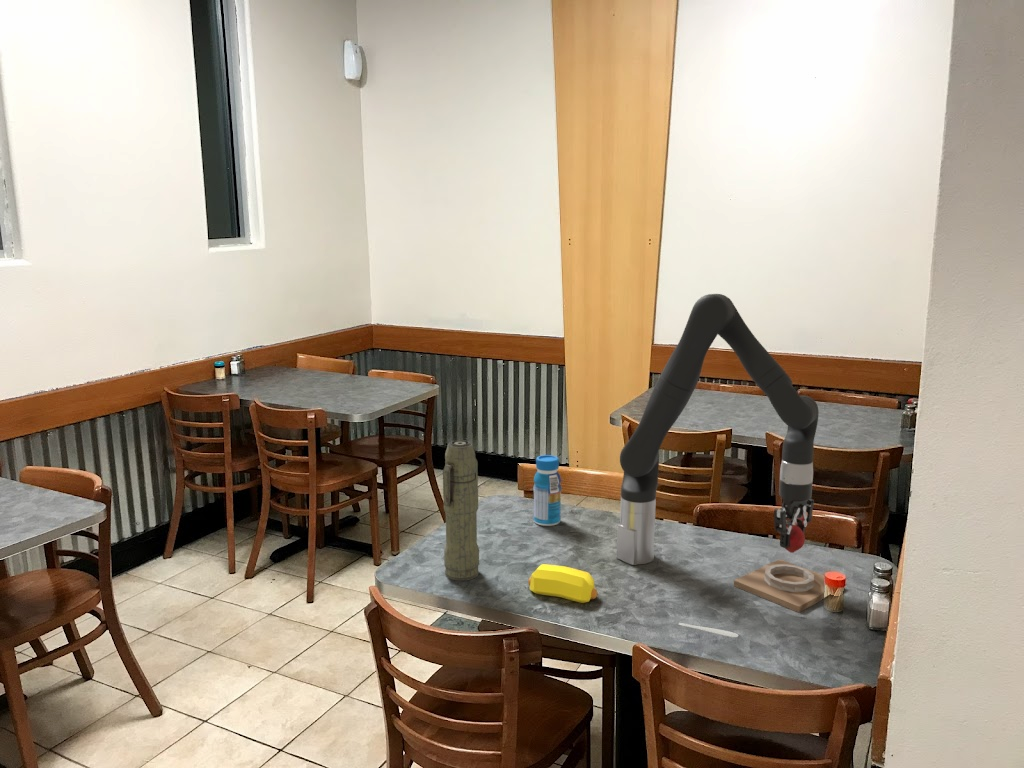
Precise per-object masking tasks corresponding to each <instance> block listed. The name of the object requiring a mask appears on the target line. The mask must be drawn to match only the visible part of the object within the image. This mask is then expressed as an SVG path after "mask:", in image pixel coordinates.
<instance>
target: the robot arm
mask: <svg viewBox="0 0 1024 768" xmlns="http://www.w3.org/2000/svg"><path fill="white" fill-rule="evenodd" d="M717 336H720V337H721V339H723V340H724V341H725V342H726V343H727V344H728V345H729V347H730V348H731V349H732V351H733V352H734V354H735V355H736V356H737V358H738V359H739V361H740V363H741V365H742V366H743V368H744V370H745V371H746V373H747V374H748V376H749V377H750V378H751V379H752V381H753V382H754V383H755V385H757V386H758V388H759V389H760V390H761V391H762V392H763V393H764V395H765V396H766V397H767V398H768V400H769V402H770V404H771V405H772V407H773V409H774V410H775V412H776V413H777V416H778V417H779V418H780V419H781V421H782V422H783V423H784V424H786V426H787V431H786V435H785V438H784V440H783V443H782V452H781V454H782V455H781V462H780V463H781V464H780V469H779V486H778V487H779V488H778V495H779V497H780V498H781V499H782V504H781V507H780V508H774V509H773V510H774V511H773V517H774V519H773V522H774V523H773V524H774V531H775V532H778V533H779V535H780V536H779V546H780V547H781V548H784V549H785V548H789V546H790V531H791V528H792V526H794V525H795V522H796V523H797V524H796V525H797V526H798V527H799V528H800V529H801V530H802V531H803V533H804V536H805V531H806V528H807V526H808V523H811V522H812V519H813V518H812V517H813V509H814V502H815V499H813V498H812V495H813V479H814V443H815V437H816V433H817V427H818V423H819V414H820V413H819V406H818V404H817V402H816V401H815V399H813V398H812V397H811V396H809V395H799V392H797V390H796V389H795V388H794V387H793V380H792V379H791V377H790V375H789V374H788V373H787V372H786V370H784V368H783V367H782V366H781V365H780V364H779V362H778V361H777V360H775V358H774V356H772V355H771V354H770V352H768V350H767V349H766V348H765V347H764V346H763V345H762V344H761V342H760V341H759V340H758V339H757V338H756V336H755V334H753V332H752V331H751V330H750V328H749V327H748V325H747V324H746V323H745V321H744V319H743V317H742V316H741V314H740V313H739V311H738V309H737V308H736V306H735V304H734V302H733V301H732V300H731V299H730V298H729V297H728V296H726V295H725V294H723V293H722V294H721V293H709V294H705V295H703V296H701V297H700V298H699V299H697V300H696V301H695V303H694V305H693V307H692V309H691V312H690V313H689V317H688V320H687V322H686V325H685V327H684V329H683V332H682V335H681V337H680V339H679V341H678V343H677V344H676V346H675V347H674V349H673V351H672V353H671V354H670V356H669V359H668V360H667V362H666V364H665V366H664V368H663V370H661V371H662V372H661V373H660V375H659V377H658V379H657V380H656V382H655V385H654V386H653V389H652V391H651V394H650V396H649V398H648V401H647V403H646V406H645V408H644V411H643V413H642V417H641V418H640V421H639V424H638V425H637V427H636V428H635V430H634V431H633V433H632V435H631V436H630V437H629V439H628V441H627V442H626V443H625V445H624V446H623V447H622V449H621V451H620V454H619V463H620V466H621V467H620V468H621V469H622V471H623V478H622V483H621V487H620V516H619V518H620V519H619V524H617V527H616V529H617V530H616V531H617V532H616V559H618V560H620V561H622V562H625V563H627V564H629V565H632V566H635V565H645V564H649V563H651V562H653V561H654V558H655V557H654V556H655V555H654V554H655V553H654V552H655V527H656V526H655V525H656V506H657V505H656V502H657V501H656V499H657V489H658V484H659V483H658V482H659V470H660V469H659V466H660V448H661V446H662V444H663V443H664V440H665V438H666V435H667V434H668V433H669V431H670V430H671V428H672V427H673V425H674V424H675V423H676V421H677V419H679V417H680V415H681V414H682V412H683V411H684V410H685V408H686V406H687V404H688V402H689V401H690V399H691V397H692V395H693V394H694V392H695V391H694V390H695V389H696V387H697V385H698V382H699V380H700V377H701V373H702V369H703V364H704V361H705V358H706V355H707V353H708V351H709V349H710V347H711V346H712V344H713V342H715V339H716V338H717ZM786 527H787V529H786Z"/></svg>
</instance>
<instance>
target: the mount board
mask: <svg viewBox="0 0 1024 768" xmlns="http://www.w3.org/2000/svg"><path fill="white" fill-rule="evenodd" d="M824 575H825V574H821V573H819V572H817V571H813V570H811V569H807V568H805V567H802V566H799V565H797V564H794V563H792V562H788V561H787V560H786V561H785V560H783V559H780V558H779V559H777V560H775V561H773V562H771V563H769V564H766V565H764V566H761V568H758V569H755V570H754V571H751V572H749V573H747V574H744V575H743V576H741V577H738V578H736V579H734V580H733V587H736V588H738V589H739V590H740V589H741V590H743V591H745V592H747V593H750V594H752V595H755V596H756V597H760V598H762V599H764V600H768V601H769V602H771V603H772V602H773V603H774V604H777V605H779V606H781V607H784V608H786V609H788V610H791V611H794V612H797V613H798V614H799V613H801V612H803V611H804V610H806V609H808V608H810V607H812V606H814V605H815V604H817V603H818V602H819V603H820V601H822V599H823V598H824V592H825V591H824ZM824 599H825V598H824ZM824 599H823V600H824Z"/></svg>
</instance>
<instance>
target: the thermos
mask: <svg viewBox="0 0 1024 768" xmlns="http://www.w3.org/2000/svg"><path fill="white" fill-rule="evenodd" d="M444 459H445V461H444V463H445V464H444V467H443V470H442V485H443V486H442V490H443V491H442V492H443V496H442V497H443V511H444V512H445V546H444V548H443V549H444V550H443V552H444V553H443V554H444V556H443V559H444V562H443V563H444V568H445V572H444V574H445V577H446V578H447V579H449V580H453V581H459V582H460V581H461V582H462V581H470V580H473V579H475V578H476V577H478V576H479V575H480V574H479V565H480V548H479V545H478V531H477V530H478V527H477V522H478V520H477V519H478V518H477V516H478V514H477V513H478V511H479V483H478V482H479V478H478V474H479V473H478V466H479V463H478V459H477V458H476V451H475V449H474V446H473V444H472V442H470V441H468V440H463V439H458V440H457V439H456V440H452V441H451V442H449V443H448V444H447V447H446V450H445V453H444Z"/></svg>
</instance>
